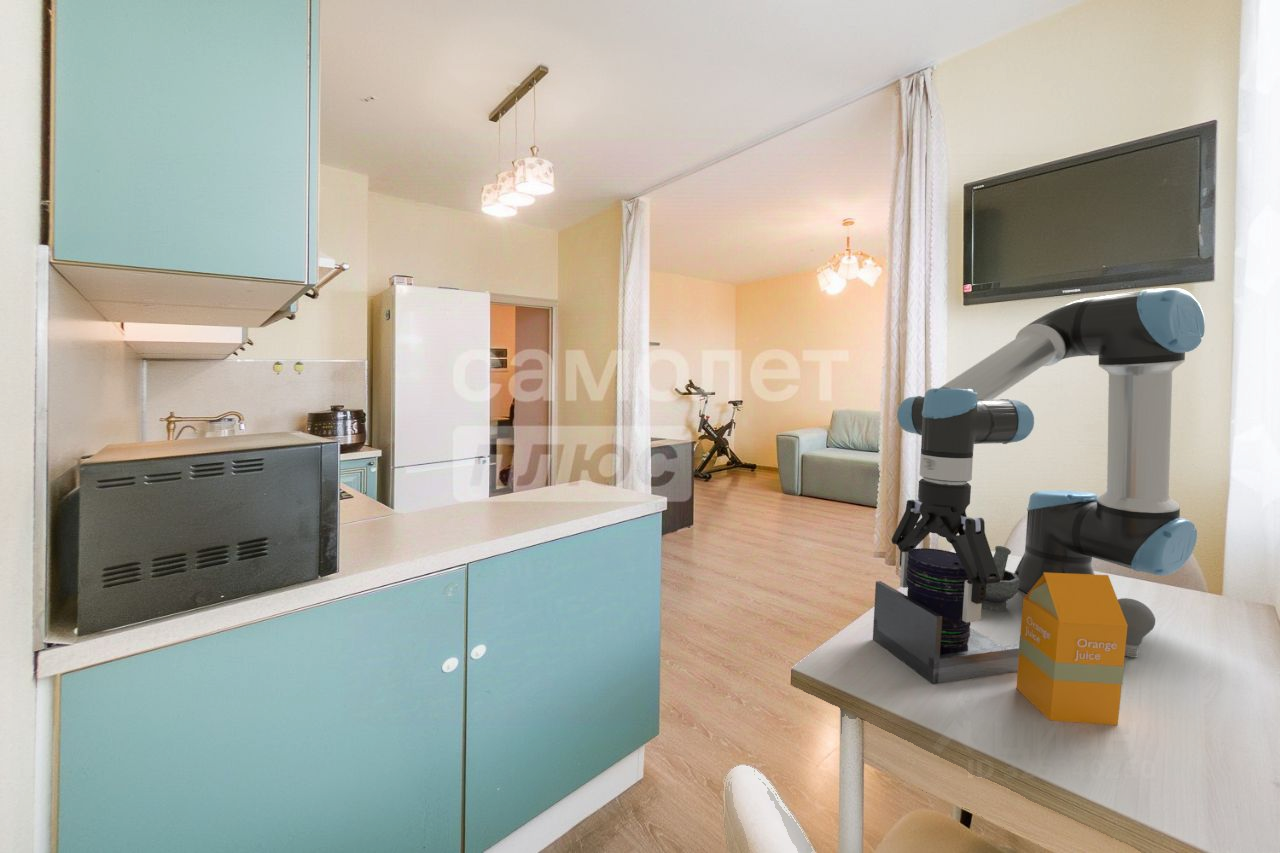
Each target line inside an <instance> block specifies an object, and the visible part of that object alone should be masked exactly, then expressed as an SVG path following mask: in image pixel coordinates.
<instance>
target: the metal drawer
mask: <svg viewBox="0 0 1280 853" xmlns="http://www.w3.org/2000/svg"><path fill="white" fill-rule="evenodd" d="M874 591H875V592H874V608H873V630H872V633H873V634H872V640H873V641H874V642H875V643H877V644H878V645H880V646H881V647H882V648H884V649H885V650H886V651H888V652H889V653H890V654H891V655H893V656H894V657H896V658H897V659H898V660H899V661H901V662H903V663H904V664H905V665H906V666H908V667H909V668H910V669H912V670H914V672H916V673H917V674H919V675H920V676H921V677H923V678H924V679H925V680H926V681H928V682H929V683H931V684H932V685H936V684H942V683H949V682H955V681H963V680H968V679H976V678H982V677H983V678H984V677H990V676H995V675H996V676H997V675H1002V674H1010V673H1015V672H1017V673H1018V660H1019V644H1012V645H1011V644H1010V645H1002V644H1000V643H998V642H996V641H995V640H993V639H990V638H989V637H987V636H985V635H984V634H982V633H980V632H978V631H976V630H975V629H973V628H971V627H970V637H969V641H968V643H967V644H968V651H965V652H958V653H951V654H943V655H940V646H941V630H942V616H941V615H940V614H938V613H936V612H934V611H933V610H931V609H929V608H927V607H925V606H924V605H922V604H920V603H918V602H917V601H915V600H913V599H911V598H910V597H908V596H907V595H906V594H904V593H903V592H901V591H899V590H897V589H896V588H894V587H893V586H890V585H888V584H886V583H885V582H883V581H881V580H878V581H877V580H876V581H875V590H874Z"/></svg>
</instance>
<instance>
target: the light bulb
mask: <svg viewBox="0 0 1280 853" xmlns="http://www.w3.org/2000/svg"><path fill="white" fill-rule="evenodd" d="M1117 599H1118V602H1119V604H1120V607H1121V610H1122V612H1123V615H1124V617H1125V620H1126V623H1127V625H1128V626H1127V637H1126V647H1125V657H1128V658H1132V657H1133V658H1134V657H1135V658H1136V657H1138V655H1139V646H1140V645H1141V644H1142V642H1143V639H1144V637H1145V636H1147V635H1148V634H1149V633H1151V631H1153V629H1154V628H1155V625H1156V617H1155V615H1154V613H1153V611H1152V610H1151V609H1150V607H1148V606H1147V605H1146V604H1144V603H1143V602H1141V601H1139V600H1136V599H1133V598H1125V597H1124V598H1117Z"/></svg>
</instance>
